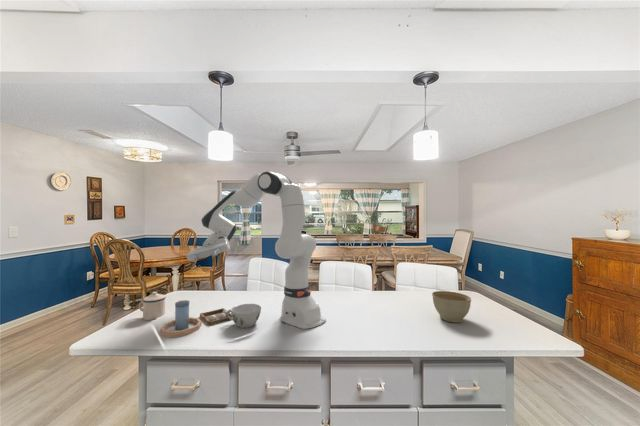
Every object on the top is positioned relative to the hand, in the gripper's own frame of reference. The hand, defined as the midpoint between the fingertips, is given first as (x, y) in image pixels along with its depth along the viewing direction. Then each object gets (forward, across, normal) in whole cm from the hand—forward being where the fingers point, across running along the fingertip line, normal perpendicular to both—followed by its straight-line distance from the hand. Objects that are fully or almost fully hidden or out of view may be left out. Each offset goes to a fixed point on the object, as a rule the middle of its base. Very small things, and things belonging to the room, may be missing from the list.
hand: (204, 257), depth 117 cm
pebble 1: (+15, -1, +25) cm, 29 cm away
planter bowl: (+25, +104, +54) cm, 120 cm away
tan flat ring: (+20, -11, +21) cm, 31 cm away
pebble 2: (+13, +2, +26) cm, 30 cm away
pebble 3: (+10, +2, +28) cm, 29 cm away
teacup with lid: (+3, -32, +20) cm, 38 cm away
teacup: (+20, +12, +29) cm, 37 cm away
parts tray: (+11, -1, +27) cm, 29 cm away
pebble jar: (+20, -11, +21) cm, 31 cm away
